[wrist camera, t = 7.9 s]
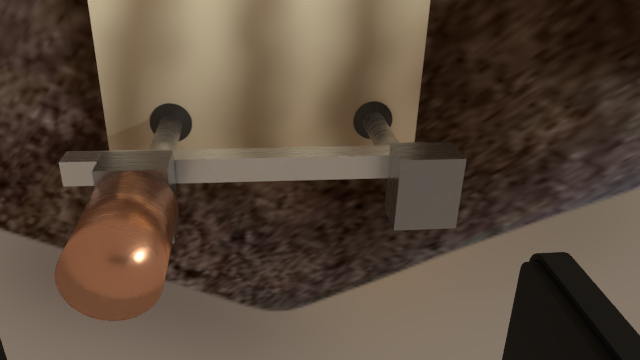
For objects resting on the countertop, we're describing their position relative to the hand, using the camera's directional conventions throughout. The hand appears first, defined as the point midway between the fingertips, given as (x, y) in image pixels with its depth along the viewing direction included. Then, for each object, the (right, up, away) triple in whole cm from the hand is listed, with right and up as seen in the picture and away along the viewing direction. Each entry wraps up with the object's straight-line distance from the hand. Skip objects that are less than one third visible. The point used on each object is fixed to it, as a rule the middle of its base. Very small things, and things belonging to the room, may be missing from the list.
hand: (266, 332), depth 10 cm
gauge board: (-3, +11, +27) cm, 29 cm away
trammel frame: (-3, +7, +26) cm, 27 cm away
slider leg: (-8, +7, +25) cm, 27 cm away
